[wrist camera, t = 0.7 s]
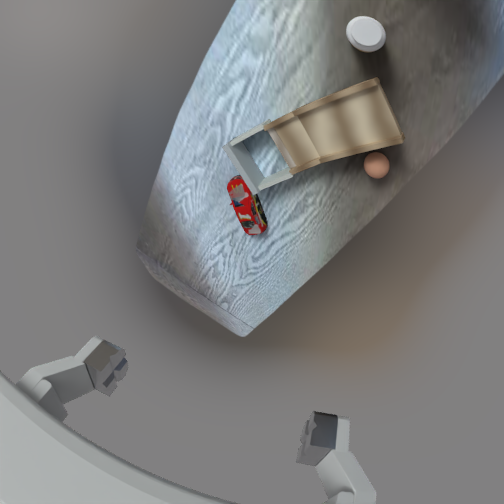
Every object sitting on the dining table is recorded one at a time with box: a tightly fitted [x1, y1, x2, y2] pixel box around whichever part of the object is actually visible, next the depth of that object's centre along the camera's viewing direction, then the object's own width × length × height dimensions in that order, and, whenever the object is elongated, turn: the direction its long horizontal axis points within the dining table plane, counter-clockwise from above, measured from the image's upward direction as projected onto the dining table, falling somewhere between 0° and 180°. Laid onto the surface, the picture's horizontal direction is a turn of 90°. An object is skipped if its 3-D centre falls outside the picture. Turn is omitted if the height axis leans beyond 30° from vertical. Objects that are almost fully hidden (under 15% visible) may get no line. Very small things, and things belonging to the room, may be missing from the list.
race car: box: [227, 175, 267, 235], centre depth 59 cm, size 13×5×4 cm, turn 20°
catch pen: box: [222, 119, 295, 195], centre depth 50 cm, size 8×10×5 cm
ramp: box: [264, 77, 405, 175], centre depth 41 cm, size 20×10×8 cm, turn 123°
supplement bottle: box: [346, 16, 386, 52], centre depth 29 cm, size 5×5×10 cm
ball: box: [364, 152, 389, 178], centre depth 44 cm, size 4×4×4 cm
